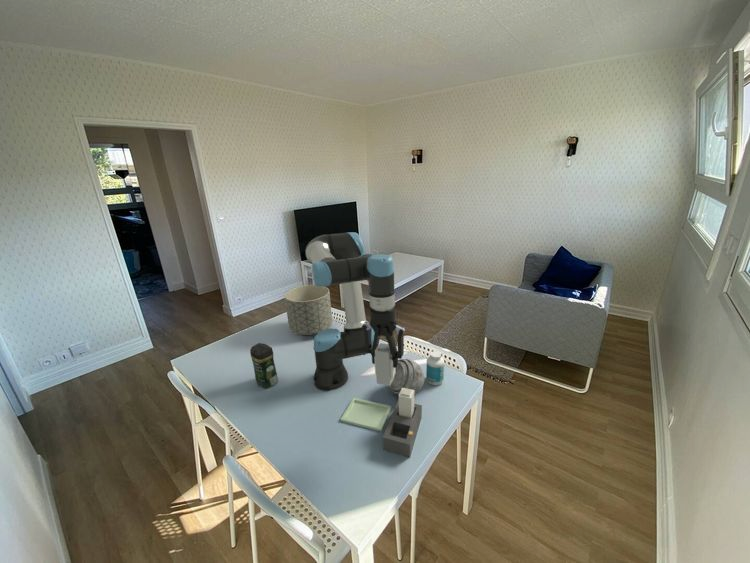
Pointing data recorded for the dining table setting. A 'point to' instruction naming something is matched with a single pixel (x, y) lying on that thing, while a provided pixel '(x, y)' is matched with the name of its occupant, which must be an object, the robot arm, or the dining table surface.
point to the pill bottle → (435, 368)
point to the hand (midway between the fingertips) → (385, 373)
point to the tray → (366, 414)
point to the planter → (308, 309)
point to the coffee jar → (264, 365)
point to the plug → (383, 364)
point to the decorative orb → (407, 376)
